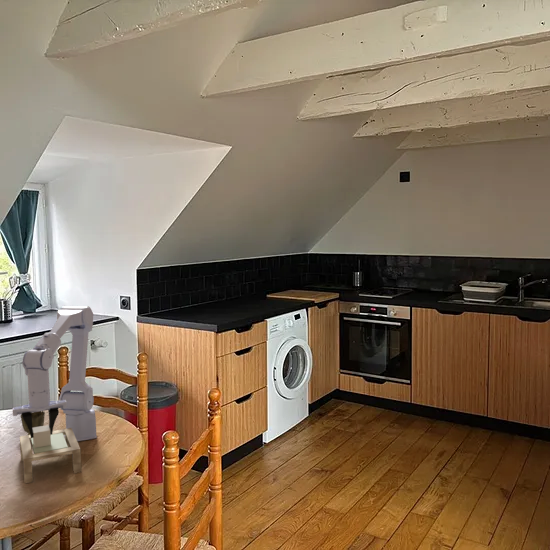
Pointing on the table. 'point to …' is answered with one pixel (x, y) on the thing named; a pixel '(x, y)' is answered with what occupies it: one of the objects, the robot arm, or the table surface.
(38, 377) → the robot arm
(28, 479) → the stand
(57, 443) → the flap
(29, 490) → the table surface
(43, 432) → the beige cube
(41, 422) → the cup
